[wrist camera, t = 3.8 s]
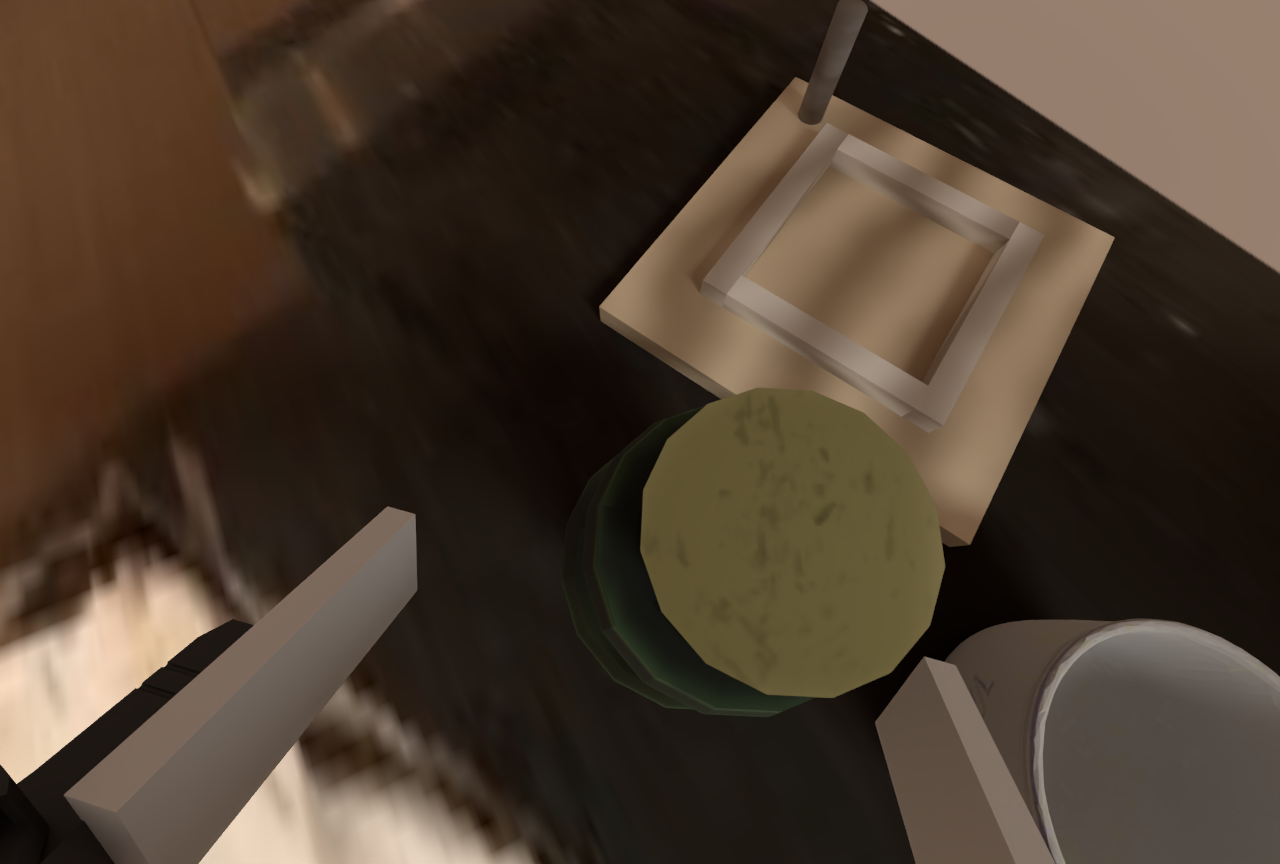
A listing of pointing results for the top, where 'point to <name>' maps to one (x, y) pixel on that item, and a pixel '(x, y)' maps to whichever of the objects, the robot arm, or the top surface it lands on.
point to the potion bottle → (754, 555)
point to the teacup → (1133, 738)
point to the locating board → (868, 283)
